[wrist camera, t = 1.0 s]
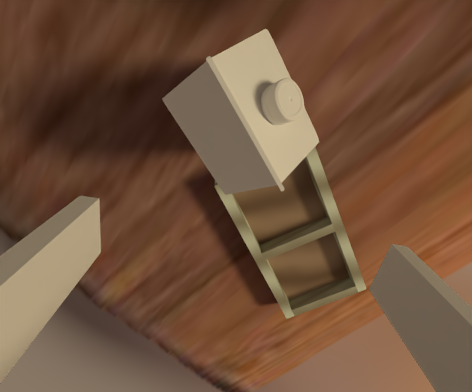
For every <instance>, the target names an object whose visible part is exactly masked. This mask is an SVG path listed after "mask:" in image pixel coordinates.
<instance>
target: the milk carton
mask: <svg viewBox="0 0 472 392" xmlns="http://www.w3.org/2000/svg"><path fill="white" fill-rule="evenodd" d="M206 60H207V61H206V62H205V63H204V64H203V65H201V66H200V67H199V68H198V69H197V70H196V71H194V72H193V73H192V74H191V75H190V76H188V77H187V78H186V79H185V80H184V81H182V82H181V83H180V84H179V85H178V86H177V87H175V88H174V89H173V90H172V91H171V92H169V93H168V94H167V95H166V96H165V97H164V98H162V100H163V102H164V103H165V105H166V107H167V108H168V110H169V111H170V113H171V114H172V116H173V117H174V119H175V120H176V122H177V123H178V125H179V126H180V128H181V129H182V131H183V132H184V134H185V135H186V137H187V138H188V140H189V141H190V143H191V144H192V146H193V147H194V149H195V150H196V152H197V153H198V155H199V156H200V158H201V159H202V161H203V162H204V164H205V165H206V167H207V169H208V170H209V172H210V173H211V175H212V176H213V178H214V179H215V181H216V182H217V184H218V185H219V187H220V188H221V189H222V191H223V192H224V194H225V195H228V194H233V193H238V192H244V191H249V190H254V189H259V188H265V187H270V186H275V185H278V187H279V188H280V190H281V192H282V191H284V187H283V185H282V182H283V181H284V180H285V179H286V177H287V176H288V175H289V174H290V173H291V172H292V171H293V170H294V169H295V168H296V167H297V166H298V165H299V163H300V162H301V161H302V160H303V159H304V158H305V157H306V156H307V155H308V154H309V153H310V152H311V150H312V149H313V148H314V147H315V146H316V145H317V144H318V143H319V139H318V136H317V134H316V132H315V129H314V127H313V125H312V123H311V121H310V118H309V116H308V114H307V112H306V110H305V108H304V100H303V96H302V93H301V91H300V89H299V87H298V85H297V84H296V83H295V82H294V81H293V80H291V78H290V75H289V73H288V71H287V69H286V67H285V65H284V62H283V60H282V58H281V56H280V54H279V52H278V50H277V48H276V45H275V43H274V41H273V39H272V37H271V35H270V33H269V32H268V30H267V29H265V30H263V31H261V32H259V33H257V34H255V35H253V36H251V37H249V38H248V39H246V40H244V41H242V42H240V43H238V44H236V45H234V46H233V47H231V48H229V49H227V50H225V51H223V52H221V53H219V54H218V55H216V56H214V57H212V58H211V57H210V56H208V57H207V58H206Z"/></svg>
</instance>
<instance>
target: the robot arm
mask: <svg viewBox="0 0 472 392" xmlns="http://www.w3.org/2000/svg"><path fill="white" fill-rule="evenodd" d="M100 253H101V243H100V207H99V198H92V197H86V196H79V197H78V198H77V199H75V200H74V201H73V202H71V203H70V204H69V205H67V206H66V207H65V208H63V209H62V210H61V211H59V212H58V213H57V214H55V215H54V216H53V217H51V218H50V219H49V220H47V221H46V222H45V223H43V224H42V225H41V226H39V227H38V228H37V229H35V230H34V231H33V232H32V233H30V234H29V235H28V236H26V237H25V238H24V239H22V240H21V241H20V242H18V243H17V244H16V245H14V246H13V247H12V248H10V249H9V250H8V251H6V252H5V253H4V254H3V255H1V256H0V383H1V382H2V381H3V379H4V378H5V377H6V375H7V374H8V373H9V371H10V370H11V369H12V368H13V366H14V365H15V364H16V362H17V361H18V360H19V358H20V357H21V356H22V355H23V353H24V352H25V351H26V349H27V348H28V347H29V345H30V344H31V343H32V342H33V340H34V339H35V337H36V336H37V335H38V334H39V332H40V331H41V330H42V328H43V327H44V326H45V325H46V323H47V322H48V321H49V319H50V318H51V317H52V315H53V314H54V313H55V311H56V310H57V309H58V307H59V306H60V305H61V304H62V302H63V301H64V300H65V298H66V297H67V296H68V294H69V293H70V292H71V291H72V289H73V288H74V287H75V285H76V284H77V283H78V281H79V280H80V279H81V278H82V276H83V275H84V274H85V272H86V271H87V270H88V268H89V267H90V266H91V264H92V263H93V262H94V261H95V259H96V258H97V257H98V255H99V254H100ZM369 290H370V292H371V293H372V295H373V297H374V298H375V300H376V301H377V303H378V304H379V306H380V307H381V309H382V310H383V312H384V313H385V315H386V316H387V318H388V319H389V321H390V322H391V324H392V325H393V327H394V328H395V330H396V331H397V333H398V334H399V336H400V338H401V339H402V341H403V342H404V344H405V345H406V347H407V348H408V350H409V351H410V353H411V354H412V356H413V357H414V359H415V360H416V362H417V363H418V365H419V366H420V368H421V369H422V371H423V372H424V374H425V375H426V377H427V379H428V380H429V382H430V383H431V385H432V386H433V388H434V389H435V391H436V392H472V307H471V306H470V305H468V303H466V302H465V301H464V300H463V299H462V298H461V297H460V296H459V295H458V294H457V293H456V292H455V291H454V290H453V289H452V288H451V287H450V286H448V285H447V284H446V283H445V282H444V281H443V280H442V279H441V278H440V277H439V276H438V275H437V274H436V273H435V272H434V271H433V270H432V269H430V268H429V267H428V266H427V265H426V264H425V263H424V262H423V261H422V260H421V259H420V258H419V257H418V256H417V255H416V254H415V253H414V252H412V251H411V250H410V249H409V248H408V247H407V246H401V245H395V244H391V246H390V248H389V250H388V252H387V254H386V256H385V258H384V260H383V262H382V264H381V266H380V268H379V270H378V272H377V274H376V276H375V278H374V280H373V282H372V284H371V286H370V288H369Z"/></svg>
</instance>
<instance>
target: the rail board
mask: <svg viewBox="0 0 472 392" xmlns="http://www.w3.org/2000/svg"><path fill="white" fill-rule="evenodd" d="M282 185H283V187H284V191H282V192H281V190H280V188H279V187H278V185H275V186H270V187H265V188H259V189H254V190H249V191H244V192H238V193H233V194H228V195H225V194H224V192H223V191H222V189H221V188H220V187H219V185H218V184H217V182H216V181H215V184H214V187H215V189H216V190H217V192H218V194H219V196H220V198H221V200H222V201H223V203H224V205H225V207H226V209H227V210H228V212H229V214H230V216H231V218H232V220H233V221H234V223H235V225H236V227H237V229H238V231H239V232H240V234H241V236H242V238H243V240H244V242H245V243H246V245H247V247H248V249H249V251H250V252H251V254H252V256H253V258H254V260H255V262H256V263H257V265H258V267H259V269H260V271H261V273H262V274H263V276H264V278H265V280H266V282H267V284H268V285H269V287H270V289H271V291H272V293H273V294H274V296H275V298H276V300H277V302H278V304H279V305H280V307H281V309H282V311H283V313H284V315H285V316H286V318H287V319H288V318H290V317H293V316H296V315H298V314H301V313H304V312H306V311H309V310H312V309H314V308H317V307H320V306H323V305H325V304H328V303H331V302H333V301H336V300H339V299H341V298H344V297H347V296H349V295H352V294H355V293H357V292H360V291H363V290H365V289H366V286H365V284H364V281H363V278H362V275H361V272H360V270H359V267H358V264H357V261H356V259H355V256H354V253H353V250H352V248H351V245H350V242H349V239H348V237H347V234H346V231H345V228H344V225H343V223H342V220H341V217H340V214H339V212H338V209H337V206H336V203H335V201H334V198H333V195H332V192H331V189H330V187H329V184H328V181H327V178H326V176H325V173H324V170H323V167H322V165H321V162H320V159H319V156H318V153H317V151H316V148H315V147H314V148H313V149H312V150H311V152H310V153H309V154H308V155H307V156H306V157H305V158H304V159H303V160H302V161H301V162H300V163H299V165H298V166H297V167H296V168H295V169H294V170H293V171H292V172H291V173H290V174H289V175H288V176H287V177H286V179H285V180H284V181H283V182H282Z"/></svg>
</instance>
